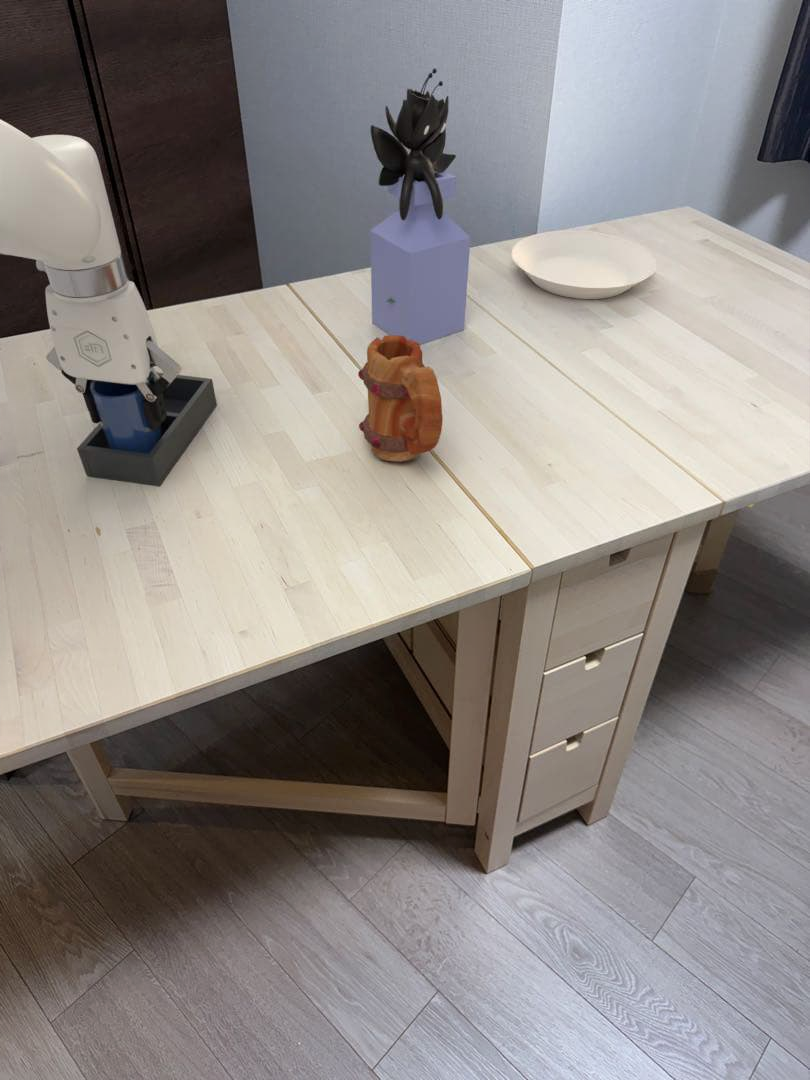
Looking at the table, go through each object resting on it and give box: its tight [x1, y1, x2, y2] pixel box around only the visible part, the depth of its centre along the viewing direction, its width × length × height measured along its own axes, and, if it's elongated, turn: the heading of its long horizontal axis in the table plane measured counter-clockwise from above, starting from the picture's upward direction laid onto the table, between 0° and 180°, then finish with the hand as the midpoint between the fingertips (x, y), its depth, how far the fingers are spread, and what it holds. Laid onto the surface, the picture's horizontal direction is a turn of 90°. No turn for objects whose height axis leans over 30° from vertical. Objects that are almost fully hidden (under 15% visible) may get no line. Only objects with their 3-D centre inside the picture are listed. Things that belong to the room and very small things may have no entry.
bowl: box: [511, 229, 658, 300], centre depth 131 cm, size 25×25×4 cm
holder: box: [76, 371, 218, 487], centre depth 94 cm, size 9×18×4 cm, turn 169°
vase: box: [369, 68, 472, 346], centre depth 105 cm, size 14×12×35 cm
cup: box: [90, 379, 163, 454], centre depth 88 cm, size 6×6×9 cm
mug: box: [357, 334, 443, 462], centre depth 87 cm, size 15×8×15 cm, turn 25°
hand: (129, 419), depth 88 cm, fingers closed on cup, 6 cm apart
